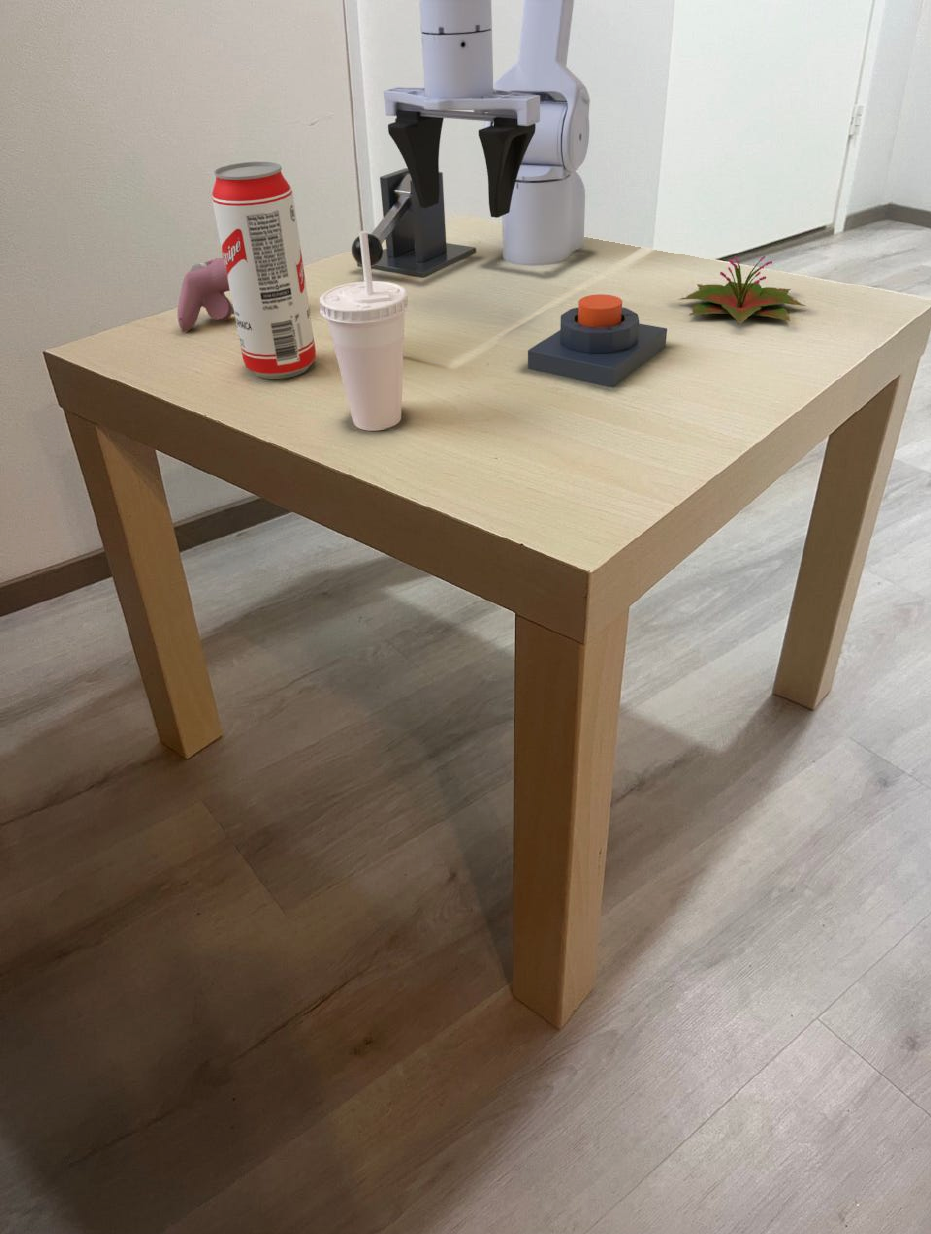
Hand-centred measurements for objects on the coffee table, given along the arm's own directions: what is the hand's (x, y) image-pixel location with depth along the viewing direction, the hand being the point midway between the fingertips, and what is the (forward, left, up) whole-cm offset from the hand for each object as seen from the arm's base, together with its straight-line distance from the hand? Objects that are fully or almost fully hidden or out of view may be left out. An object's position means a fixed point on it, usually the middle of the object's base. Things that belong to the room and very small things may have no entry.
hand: (464, 210), depth 83 cm
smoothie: (+22, +6, -10) cm, 25 cm away
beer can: (+18, -8, -10) cm, 22 cm away
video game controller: (+12, -20, -10) cm, 25 cm away
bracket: (-11, -15, -10) cm, 21 cm away
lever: (-8, -15, -6) cm, 18 cm away
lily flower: (-14, +21, -10) cm, 28 cm away
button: (+3, +15, -7) cm, 17 cm away
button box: (+3, +15, -10) cm, 18 cm away
